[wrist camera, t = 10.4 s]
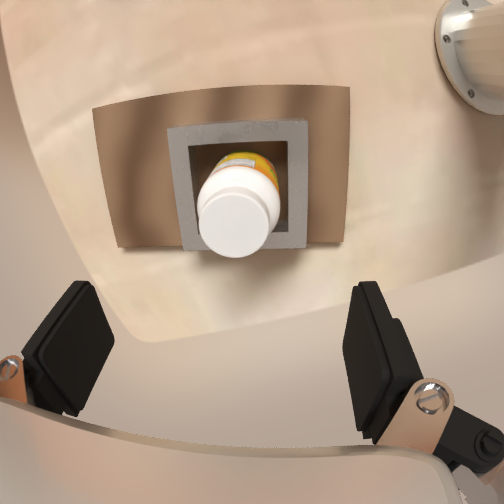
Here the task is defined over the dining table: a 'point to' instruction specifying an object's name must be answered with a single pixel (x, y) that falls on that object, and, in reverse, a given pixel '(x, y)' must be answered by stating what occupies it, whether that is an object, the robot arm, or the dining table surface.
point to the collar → (247, 130)
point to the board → (219, 154)
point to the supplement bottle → (239, 204)
